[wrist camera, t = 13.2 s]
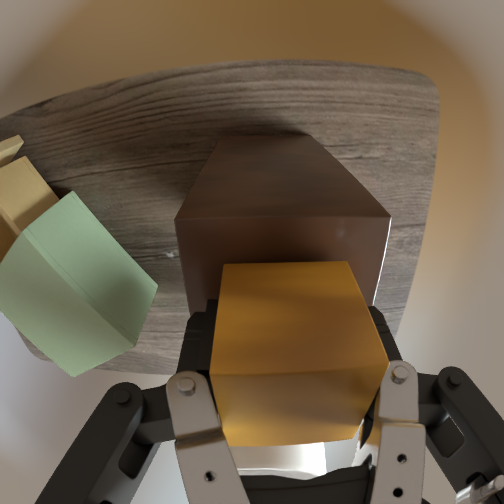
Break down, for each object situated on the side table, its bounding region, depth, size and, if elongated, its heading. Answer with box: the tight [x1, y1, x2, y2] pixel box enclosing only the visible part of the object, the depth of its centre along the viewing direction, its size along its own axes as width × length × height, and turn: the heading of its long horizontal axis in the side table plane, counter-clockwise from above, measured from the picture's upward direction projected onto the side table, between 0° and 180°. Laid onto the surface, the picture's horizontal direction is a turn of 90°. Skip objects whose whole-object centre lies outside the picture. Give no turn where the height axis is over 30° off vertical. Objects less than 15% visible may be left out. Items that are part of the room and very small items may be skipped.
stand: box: [174, 135, 392, 316], centre depth 21 cm, size 8×8×18 cm
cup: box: [218, 415, 326, 480], centre depth 26 cm, size 10×10×22 cm
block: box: [209, 261, 390, 446], centre depth 10 cm, size 5×5×5 cm
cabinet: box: [0, 191, 158, 377], centre depth 29 cm, size 15×13×10 cm
